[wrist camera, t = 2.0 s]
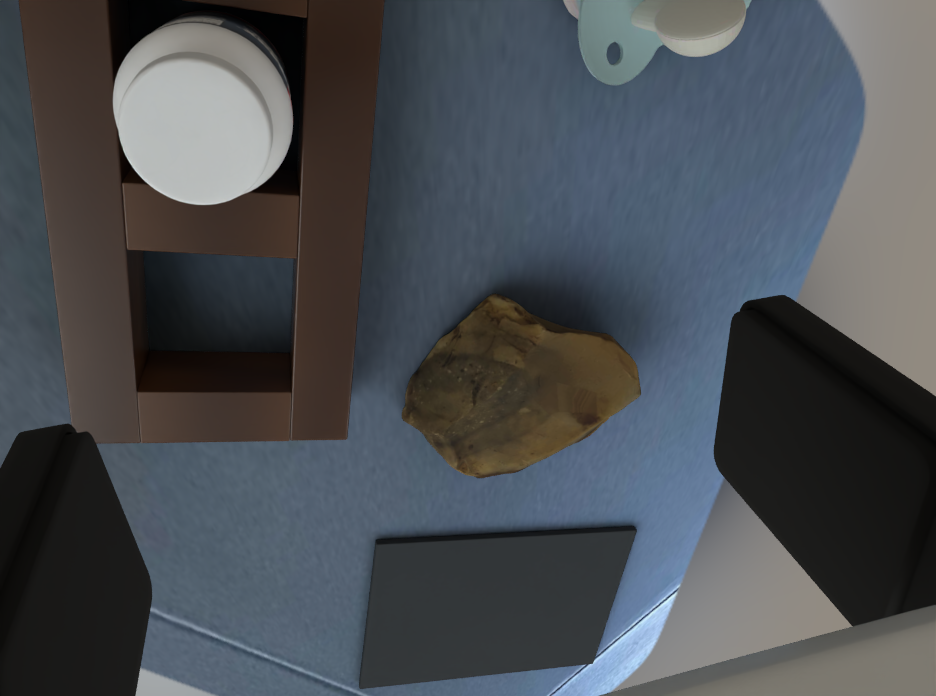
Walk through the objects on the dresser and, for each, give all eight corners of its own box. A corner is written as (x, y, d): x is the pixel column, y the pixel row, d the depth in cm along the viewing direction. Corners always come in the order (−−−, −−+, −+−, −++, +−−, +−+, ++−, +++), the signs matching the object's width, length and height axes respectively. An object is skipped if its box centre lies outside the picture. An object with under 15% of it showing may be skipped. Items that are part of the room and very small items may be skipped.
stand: (92, 398, 32) (73, 444, 29) (37, -114, 23) (2, -122, 20) (341, 398, 35) (347, 440, 32) (376, -55, 26) (389, -55, 23)
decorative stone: (498, 485, 40) (516, 528, 37) (372, 401, 36) (382, 443, 33) (636, 355, 38) (668, 391, 35) (523, 248, 33) (548, 279, 30)
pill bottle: (308, 135, 29) (321, 202, 21) (179, 170, 28) (146, 252, 21) (260, -9, 26) (255, 10, 19) (117, 28, 26) (52, 63, 18)
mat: (358, 683, 45) (359, 689, 45) (375, 539, 40) (376, 544, 40) (591, 659, 50) (593, 663, 49) (634, 525, 44) (637, 530, 44)
